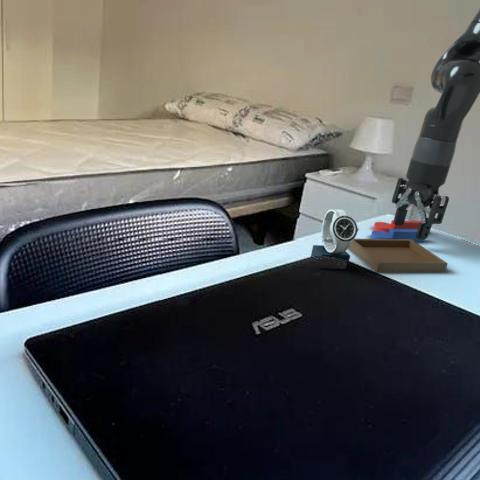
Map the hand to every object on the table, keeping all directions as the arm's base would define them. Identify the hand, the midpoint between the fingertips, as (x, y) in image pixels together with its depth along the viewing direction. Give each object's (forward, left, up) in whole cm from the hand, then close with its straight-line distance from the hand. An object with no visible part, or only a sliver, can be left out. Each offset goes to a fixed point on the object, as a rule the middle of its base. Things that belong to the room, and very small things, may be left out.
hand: (408, 231), depth 110 cm
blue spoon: (+3, 0, -2) cm, 4 cm away
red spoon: (-1, -5, -2) cm, 6 cm away
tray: (+9, +10, -2) cm, 13 cm away
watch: (+25, +12, -2) cm, 28 cm away
